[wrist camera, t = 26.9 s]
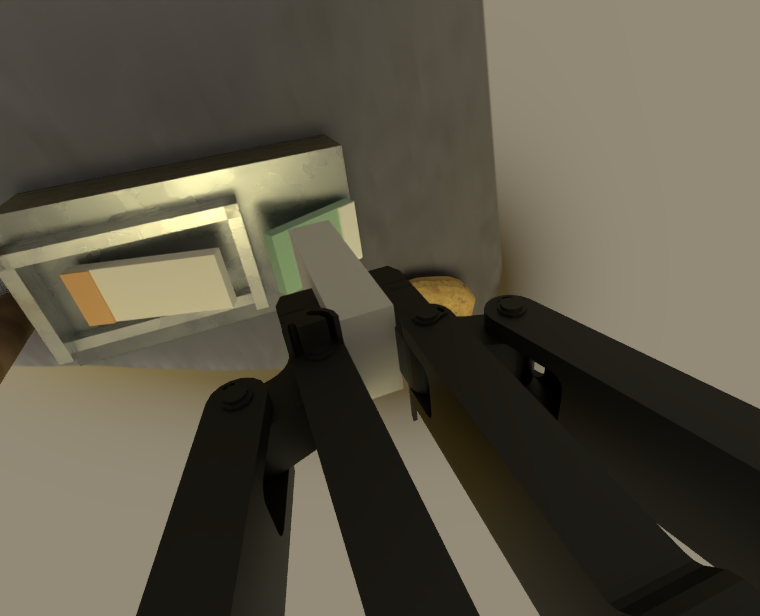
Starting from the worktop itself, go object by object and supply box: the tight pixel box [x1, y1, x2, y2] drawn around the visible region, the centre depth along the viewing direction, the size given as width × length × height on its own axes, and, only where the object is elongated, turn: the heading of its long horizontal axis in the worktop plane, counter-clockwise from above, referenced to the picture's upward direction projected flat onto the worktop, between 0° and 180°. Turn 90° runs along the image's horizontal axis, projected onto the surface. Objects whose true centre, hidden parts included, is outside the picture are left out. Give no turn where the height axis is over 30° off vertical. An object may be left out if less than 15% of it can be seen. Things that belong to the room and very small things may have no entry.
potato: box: [409, 276, 475, 316], centre depth 49 cm, size 7×11×6 cm, turn 83°
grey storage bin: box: [0, 134, 360, 366], centre depth 36 cm, size 25×13×8 cm, turn 97°
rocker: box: [60, 248, 237, 326], centre depth 32 cm, size 11×4×1 cm, turn 97°
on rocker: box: [263, 199, 363, 295], centre depth 34 cm, size 8×5×1 cm, turn 97°
